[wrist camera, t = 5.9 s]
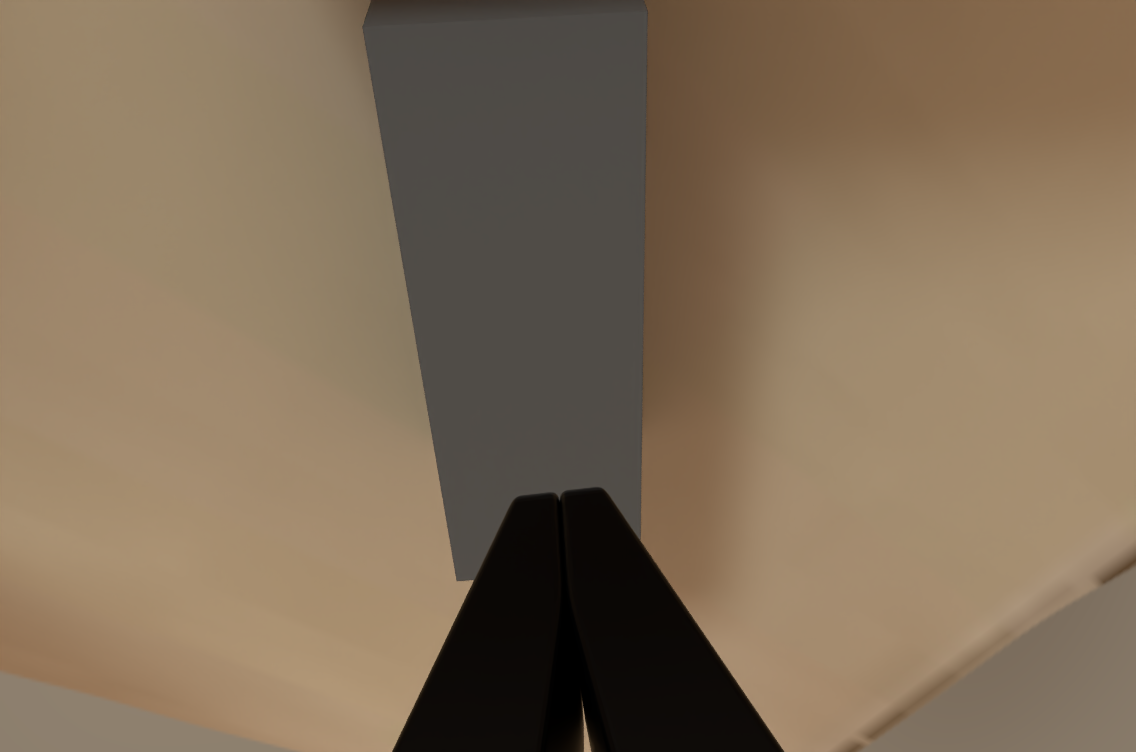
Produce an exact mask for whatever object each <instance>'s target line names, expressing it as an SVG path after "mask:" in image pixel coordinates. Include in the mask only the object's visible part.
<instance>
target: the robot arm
mask: <svg viewBox="0 0 1136 752" xmlns="http://www.w3.org/2000/svg"><path fill="white" fill-rule="evenodd" d="M582 701H583V705H582ZM583 708H584V714H585V721H586V726H587V732H588V737H589V742H590V747H591V752H784V751H783V749H782V748H781V746H780V745H779V743H778V742H777V740H776V739H775V737H774V736H773V734H772V733H771V732H770V730H769V729H768V727H767V726H766V724H765V723H764V721H763V720H762V718H761V717H760V715H759V714H758V712H757V711H756V710H755V708H754V707H753V705H752V704H751V702H750V701H749V699H748V698H747V696H746V695H745V693H744V692H743V690H742V689H741V688H740V686H739V685H738V683H737V682H736V680H735V679H734V677H733V676H732V674H731V673H730V671H729V670H728V668H727V667H726V666H725V664H724V663H723V661H722V660H721V658H720V657H719V655H718V654H717V652H716V651H715V649H714V648H713V646H712V645H711V644H710V642H709V641H708V639H707V638H706V636H705V635H704V633H703V632H702V630H701V629H700V627H699V626H698V624H697V623H696V622H695V620H694V619H693V617H692V616H691V614H690V613H689V611H688V610H687V608H686V607H685V605H684V604H683V602H682V601H681V600H680V598H679V597H678V595H677V594H676V592H675V591H674V589H673V588H672V586H671V585H670V583H669V582H668V580H667V579H666V577H665V576H664V575H663V573H662V572H661V570H660V569H659V567H658V566H657V564H656V563H655V561H654V560H653V558H652V557H651V555H650V554H649V553H648V551H647V550H646V548H645V547H644V545H643V544H642V542H641V541H640V539H639V538H638V536H637V535H636V533H635V532H634V531H633V529H632V528H631V526H630V525H629V523H628V522H627V520H626V519H625V517H624V516H623V514H622V513H621V511H620V510H619V509H618V507H617V506H616V504H615V503H614V501H613V500H612V498H611V497H610V495H609V494H608V493H607V492H606V491H605V490H604V489H603V488H601V487H591V488H582V489H574V490H566V491H564V492H563V493H562V494H561V496H560V500H559V497H558V496H557V494H555V493H553V492H547V493H539V494H530V495H521V496H518V497H516V498H515V499H514V500H513V501H512V503H511V504H510V506H509V508H508V510H507V512H506V515H505V517H504V519H503V521H502V523H501V525H500V527H499V529H498V531H497V533H496V535H495V538H494V540H493V542H492V544H491V546H490V548H489V550H488V552H487V554H486V556H485V558H484V561H483V563H482V565H481V567H480V569H479V571H478V573H477V575H476V577H475V579H474V581H473V584H472V586H471V588H470V590H469V592H468V594H467V596H466V598H465V600H464V602H463V604H462V607H461V609H460V611H459V613H458V615H457V617H456V619H455V621H454V623H453V625H452V627H451V630H450V632H449V634H448V636H447V638H446V640H445V642H444V644H443V646H442V648H441V650H440V653H439V655H438V657H437V659H436V661H435V663H434V665H433V667H432V669H431V671H430V673H429V676H428V678H427V680H426V682H425V684H424V686H423V688H422V690H421V692H420V694H419V696H418V699H417V701H416V703H415V705H414V707H413V709H412V711H411V713H410V715H409V717H408V719H407V722H406V724H405V726H404V728H403V730H402V732H401V734H400V736H399V738H398V740H397V742H396V745H395V747H394V749H393V751H392V752H584V720H583Z"/></svg>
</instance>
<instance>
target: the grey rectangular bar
mask: <svg viewBox="0 0 1136 752" xmlns="http://www.w3.org/2000/svg"><path fill="white" fill-rule="evenodd" d="M647 23H648V11H647V8H646V5H645V2H644V0H371V3H370V6H369V9H368V12H367V15H366V18H365V21H364V24H363V33H364V39H365V44H366V50H367V56H368V62H369V68H370V74H371V80H372V86H373V91H374V97H375V103H376V109H377V115H378V121H379V127H380V133H381V139H382V144H383V150H384V156H385V162H386V168H387V174H388V180H389V186H390V191H391V197H392V203H393V209H394V215H395V221H396V227H397V233H398V239H399V244H400V250H401V256H402V262H403V268H404V274H405V280H406V286H407V291H408V297H409V303H410V309H411V315H412V321H413V327H414V333H415V339H416V344H417V350H418V356H419V362H420V368H421V374H422V380H423V386H424V391H425V397H426V403H427V409H428V415H429V421H430V427H431V433H432V438H433V444H434V450H435V456H436V462H437V468H438V474H439V480H440V486H441V491H442V497H443V503H444V509H445V515H446V521H447V527H448V533H449V538H450V544H451V550H452V556H453V562H454V568H455V574H456V580H457V581H466V580H474V579H475V577H476V575H477V573H478V571H479V569H480V567H481V565H482V563H483V561H484V558H485V556H486V554H487V552H488V550H489V548H490V546H491V544H492V542H493V540H494V538H495V535H496V533H497V531H498V529H499V527H500V525H501V523H502V521H503V519H504V517H505V515H506V512H507V510H508V508H509V506H510V504H511V503H512V501H513V500H514V499H515V498H516V497H518V496H521V495H530V494H539V493H547V492H553V493H555V494H557V496H558V497H559V500H560V496H561V494H562V493H563V492H564V491H566V490H574V489H582V488H591V487H601V488H603V489H604V490H605V491H606V492H607V493H608V494H609V495H610V497H611V498H612V500H613V501H614V503H615V504H616V506H617V507H618V509H619V510H620V511H621V513H622V514H623V516H624V517H625V519H626V520H627V522H628V523H629V525H630V526H631V528H632V529H633V531H634V532H635V533H636V535H637V536H638V538H639V539H640V536H641V463H642V390H643V316H644V243H645V170H646V96H647Z"/></svg>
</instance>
